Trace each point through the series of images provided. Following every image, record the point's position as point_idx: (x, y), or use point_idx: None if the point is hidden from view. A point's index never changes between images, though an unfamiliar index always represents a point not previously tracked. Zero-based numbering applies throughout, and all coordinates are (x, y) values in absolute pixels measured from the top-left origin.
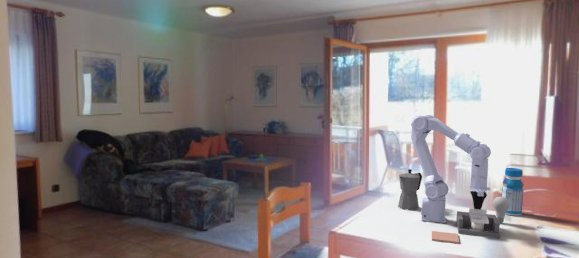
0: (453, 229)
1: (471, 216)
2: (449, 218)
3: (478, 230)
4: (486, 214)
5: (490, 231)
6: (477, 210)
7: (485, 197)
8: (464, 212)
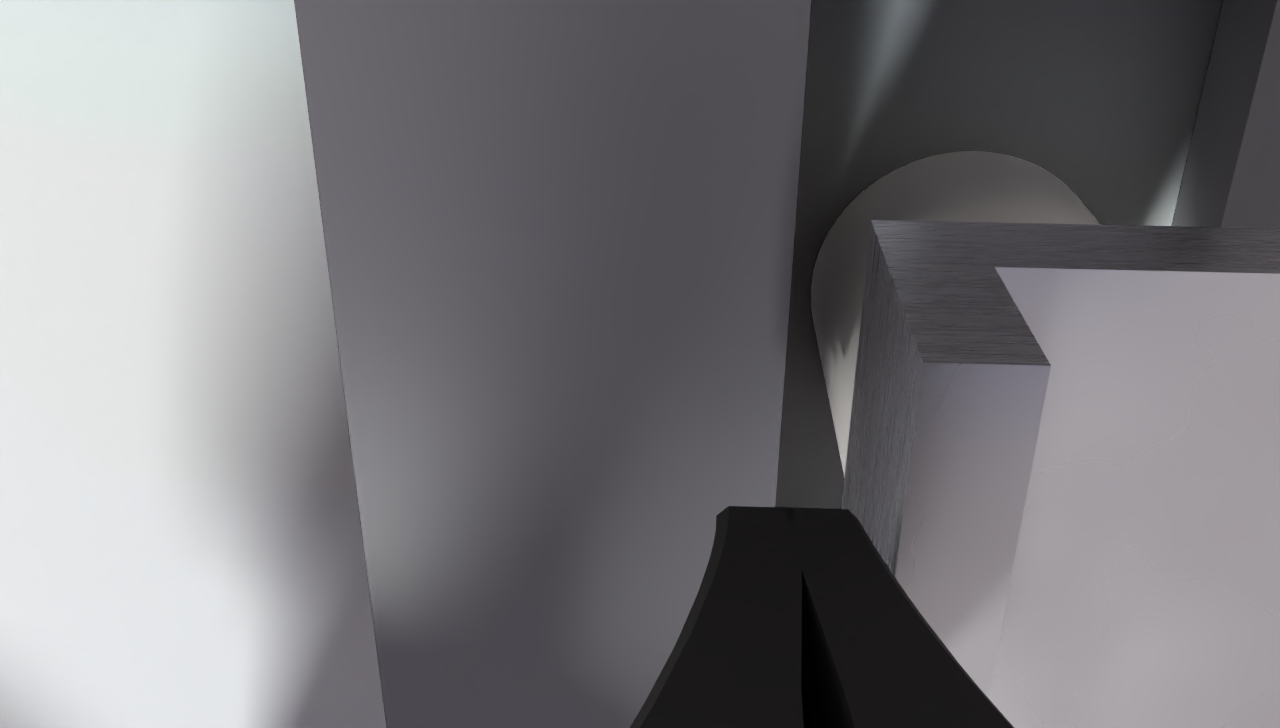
0: None
1: (1231, 719)
2: (162, 714)
3: None
4: (363, 130)
5: (1270, 43)
6: (982, 645)
7: None
8: (442, 719)
